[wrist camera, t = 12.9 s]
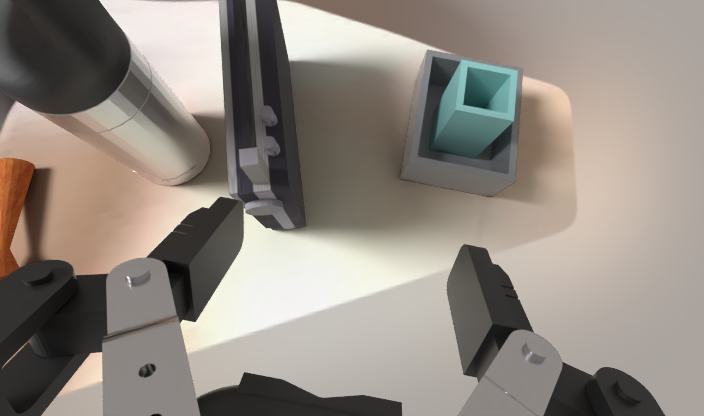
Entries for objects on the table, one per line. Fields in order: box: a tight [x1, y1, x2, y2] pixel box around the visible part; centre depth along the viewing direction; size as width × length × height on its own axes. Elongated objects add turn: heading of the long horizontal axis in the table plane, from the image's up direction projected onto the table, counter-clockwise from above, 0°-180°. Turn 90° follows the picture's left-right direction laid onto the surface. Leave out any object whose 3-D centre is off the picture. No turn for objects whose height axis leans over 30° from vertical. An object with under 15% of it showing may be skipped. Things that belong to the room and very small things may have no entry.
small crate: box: [429, 60, 518, 159], centre depth 39 cm, size 6×6×10 cm
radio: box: [219, 0, 306, 230], centre depth 34 cm, size 24×5×20 cm, turn 8°
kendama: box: [0, 158, 35, 281], centre depth 37 cm, size 6×6×20 cm
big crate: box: [400, 50, 523, 197], centre depth 42 cm, size 15×12×6 cm
